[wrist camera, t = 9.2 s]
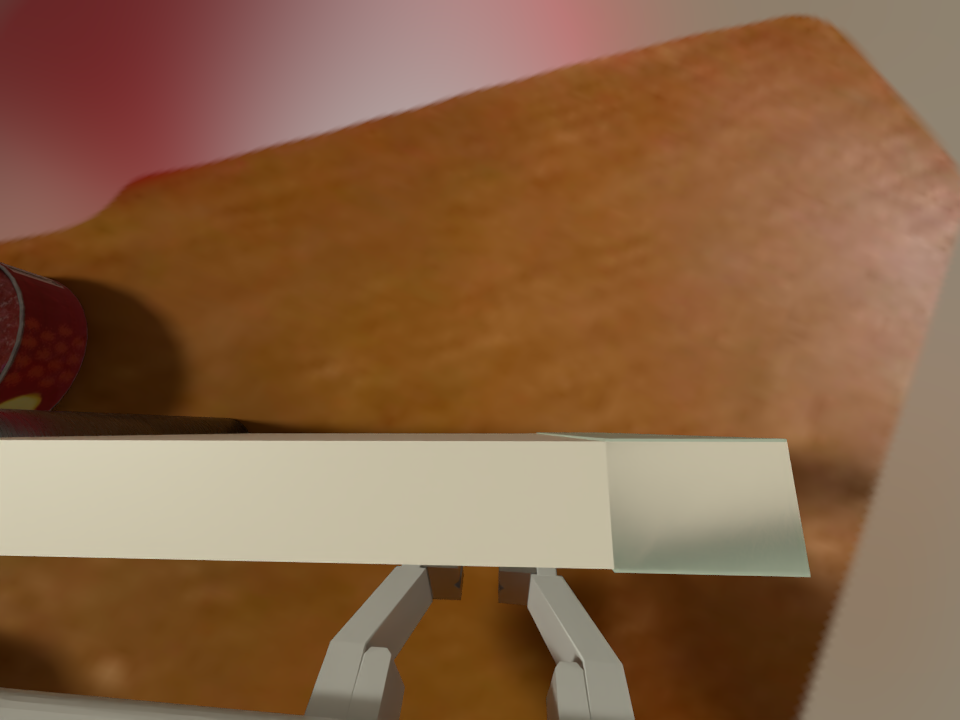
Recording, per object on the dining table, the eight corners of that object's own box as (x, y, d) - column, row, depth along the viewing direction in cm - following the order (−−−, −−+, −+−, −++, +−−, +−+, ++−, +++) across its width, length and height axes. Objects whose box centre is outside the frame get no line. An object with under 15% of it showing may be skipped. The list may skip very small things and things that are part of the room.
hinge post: (249, 486, 17) (-652, 690, 4) (182, 490, 18) (-920, 704, 4) (254, 415, 18) (-488, 373, 5) (189, 420, 18) (-718, 394, 5)
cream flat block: (252, 475, 17) (-176, 554, 6) (257, 432, 17) (-133, 436, 7) (602, 478, 16) (810, 576, 5) (598, 432, 16) (786, 438, 6)
